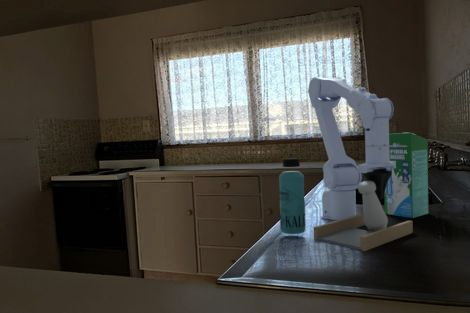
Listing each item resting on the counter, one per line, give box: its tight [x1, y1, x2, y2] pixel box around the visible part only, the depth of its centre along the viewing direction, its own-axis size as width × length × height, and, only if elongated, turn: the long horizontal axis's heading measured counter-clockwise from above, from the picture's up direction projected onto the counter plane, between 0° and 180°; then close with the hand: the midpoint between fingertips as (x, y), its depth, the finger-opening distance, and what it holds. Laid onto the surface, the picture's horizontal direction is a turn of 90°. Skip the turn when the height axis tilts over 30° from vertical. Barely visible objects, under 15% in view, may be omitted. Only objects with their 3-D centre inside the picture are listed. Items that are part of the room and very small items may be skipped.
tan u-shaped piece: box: [313, 213, 414, 252], centre depth 94 cm, size 14×21×3 cm, turn 128°
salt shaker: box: [358, 180, 389, 232], centre depth 96 cm, size 6×6×13 cm
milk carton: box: [383, 132, 429, 219], centre depth 116 cm, size 9×9×25 cm
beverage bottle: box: [278, 157, 307, 235], centre depth 95 cm, size 6×7×20 cm
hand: (378, 198), depth 97 cm, fingers closed
